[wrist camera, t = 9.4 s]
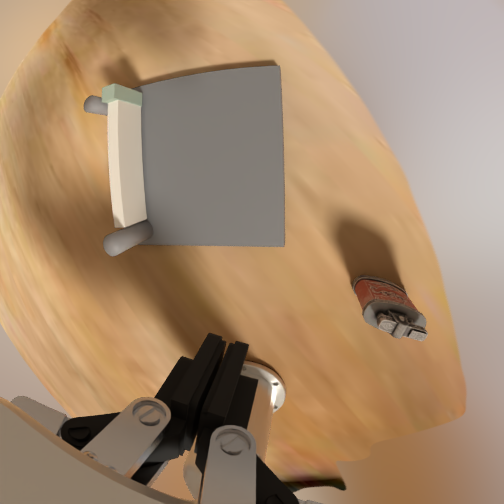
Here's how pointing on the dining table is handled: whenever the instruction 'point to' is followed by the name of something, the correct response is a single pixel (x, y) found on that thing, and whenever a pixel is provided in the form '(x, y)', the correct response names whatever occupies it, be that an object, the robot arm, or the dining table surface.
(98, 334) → the dining table surface
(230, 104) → the base
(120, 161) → the pale rectangular block
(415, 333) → the lighter
